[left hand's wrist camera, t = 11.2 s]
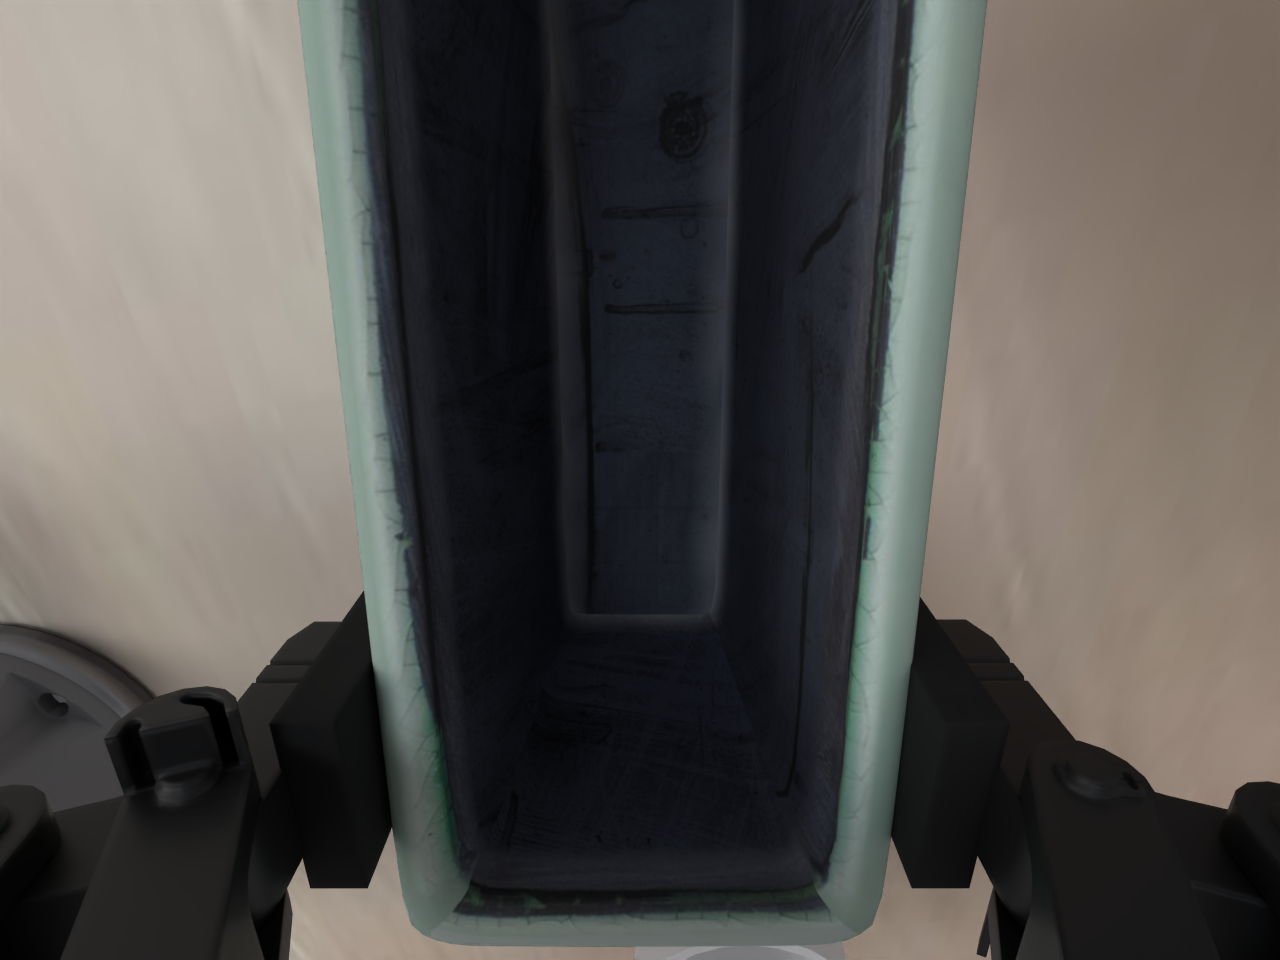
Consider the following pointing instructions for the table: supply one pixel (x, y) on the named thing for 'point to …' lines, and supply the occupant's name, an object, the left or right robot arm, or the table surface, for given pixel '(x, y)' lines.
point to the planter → (642, 442)
